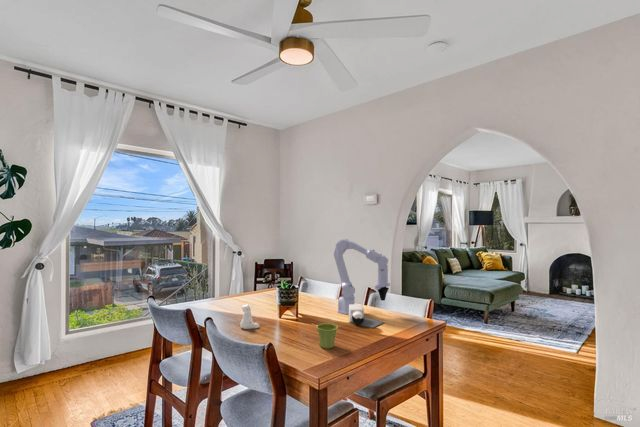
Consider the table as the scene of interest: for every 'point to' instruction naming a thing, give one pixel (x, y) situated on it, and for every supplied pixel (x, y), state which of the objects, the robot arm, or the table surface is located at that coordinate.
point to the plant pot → (327, 335)
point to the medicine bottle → (356, 313)
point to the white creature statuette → (247, 319)
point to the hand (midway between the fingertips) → (382, 300)
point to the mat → (370, 323)
